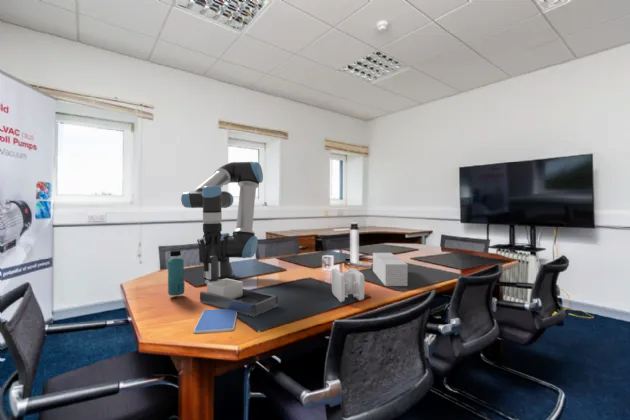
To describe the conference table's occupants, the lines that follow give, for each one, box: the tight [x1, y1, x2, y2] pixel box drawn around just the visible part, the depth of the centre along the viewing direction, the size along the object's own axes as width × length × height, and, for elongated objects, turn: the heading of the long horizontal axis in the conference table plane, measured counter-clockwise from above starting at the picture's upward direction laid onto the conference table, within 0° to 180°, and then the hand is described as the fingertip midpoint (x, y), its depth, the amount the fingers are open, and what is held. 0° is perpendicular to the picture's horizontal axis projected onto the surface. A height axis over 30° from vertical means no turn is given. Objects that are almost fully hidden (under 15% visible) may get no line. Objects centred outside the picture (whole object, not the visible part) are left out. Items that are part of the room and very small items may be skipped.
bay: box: [199, 288, 279, 318], centre depth 121 cm, size 13×30×4 cm, turn 57°
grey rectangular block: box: [372, 252, 409, 287], centre depth 162 cm, size 32×11×11 cm, turn 0°
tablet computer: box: [192, 308, 238, 334], centre depth 105 cm, size 19×13×1 cm, turn 11°
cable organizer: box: [331, 267, 365, 303], centre depth 129 cm, size 15×11×12 cm
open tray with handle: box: [204, 256, 244, 299], centre depth 126 cm, size 10×14×16 cm
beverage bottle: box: [167, 249, 186, 297], centre depth 130 cm, size 6×7×20 cm
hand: (212, 277), depth 129 cm, fingers closed on open tray with handle, 4 cm apart
